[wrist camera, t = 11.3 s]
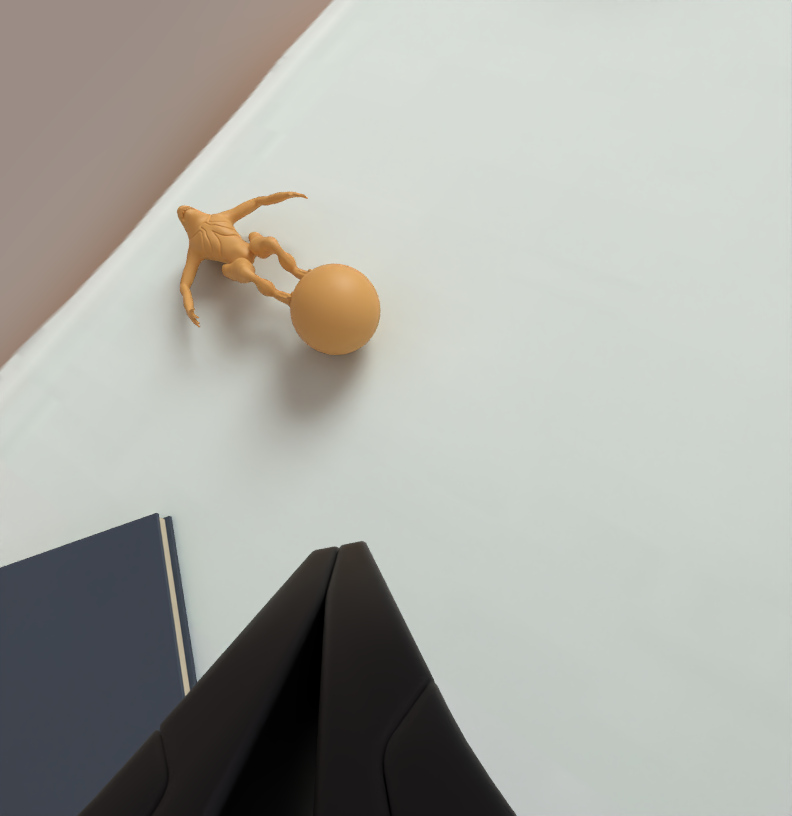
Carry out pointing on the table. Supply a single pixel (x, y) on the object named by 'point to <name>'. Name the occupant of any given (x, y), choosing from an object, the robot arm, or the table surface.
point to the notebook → (88, 663)
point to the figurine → (316, 291)
